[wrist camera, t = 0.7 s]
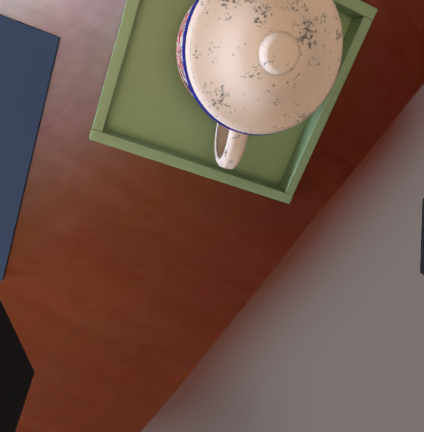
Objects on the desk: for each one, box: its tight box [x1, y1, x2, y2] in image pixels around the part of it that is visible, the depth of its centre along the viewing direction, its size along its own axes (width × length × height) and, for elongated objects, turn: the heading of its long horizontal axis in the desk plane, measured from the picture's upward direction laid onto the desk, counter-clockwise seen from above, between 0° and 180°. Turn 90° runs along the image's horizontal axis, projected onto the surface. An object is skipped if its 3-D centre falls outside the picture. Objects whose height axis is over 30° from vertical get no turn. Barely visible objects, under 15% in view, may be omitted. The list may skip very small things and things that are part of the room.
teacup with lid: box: [175, 0, 343, 169], centre depth 25 cm, size 12×9×12 cm
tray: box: [89, 0, 377, 204], centre depth 30 cm, size 16×17×2 cm
